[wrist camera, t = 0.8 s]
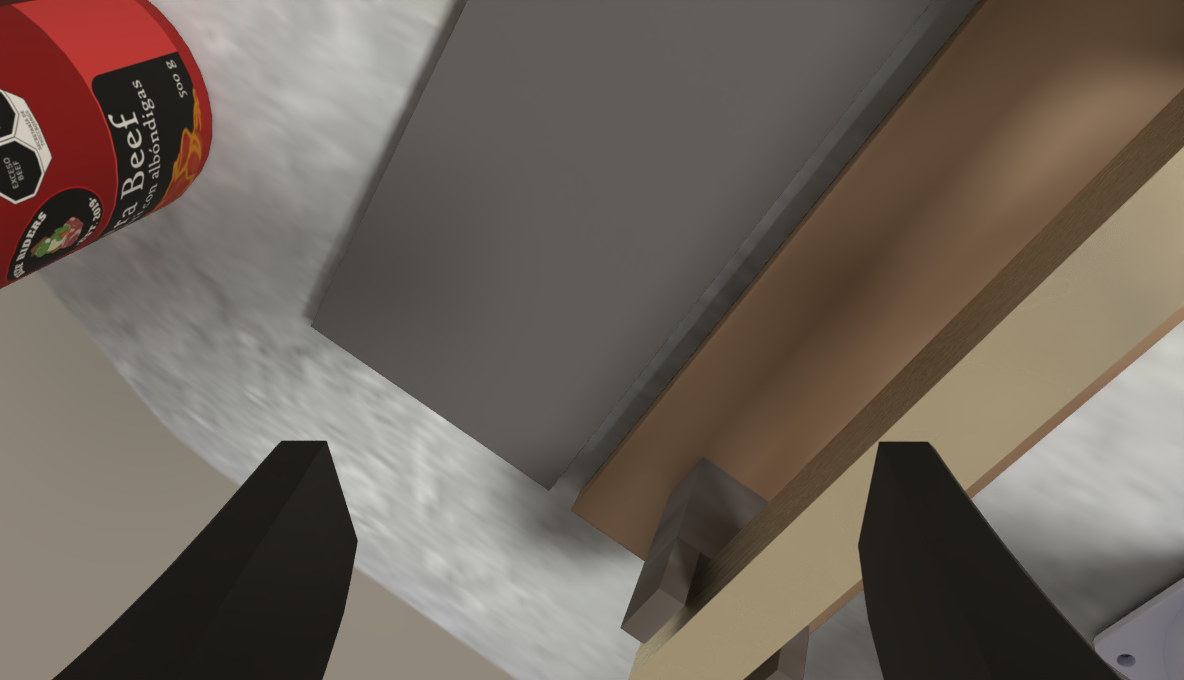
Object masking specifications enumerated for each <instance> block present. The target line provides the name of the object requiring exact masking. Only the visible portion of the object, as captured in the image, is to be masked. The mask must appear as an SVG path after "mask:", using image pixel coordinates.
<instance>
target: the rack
mask: <svg viewBox="0 0 1184 680" xmlns="http://www.w3.org/2000/svg"><path fill="white" fill-rule="evenodd" d="M1183 88H1184V0H980V1H979V2H978V3H977V5H976V6H975V7H974V8H973V10H972V11H971V12H970V13H969V14H968V16H967V17H966V18H965V19H964V21H963V22H962V23H961V24H960V26H959V27H958V28H957V29H956V30H955V32H954V33H953V34H952V35H951V37H950V38H949V39H948V40H947V42H946V43H945V44H944V45H943V46H942V48H941V49H940V50H939V51H938V53H937V54H936V55H935V56H934V58H933V59H932V60H931V61H930V62H929V64H928V65H927V66H926V67H925V69H924V70H923V71H922V72H921V74H920V75H919V76H918V77H917V78H916V80H915V81H914V82H913V83H912V85H911V86H910V87H909V88H908V90H907V91H906V92H905V93H904V94H903V96H902V97H901V98H900V99H899V101H898V102H897V103H896V104H895V106H894V107H893V108H892V109H891V111H890V112H889V113H888V114H887V115H886V117H885V118H884V119H883V120H882V122H881V123H880V124H879V125H878V127H877V128H876V129H875V130H874V131H873V133H872V134H871V135H870V136H869V138H868V139H867V140H866V141H865V143H864V144H863V145H862V146H861V147H860V149H859V150H858V151H857V152H856V154H855V155H854V156H853V157H852V159H851V160H850V161H849V162H848V163H847V165H846V166H845V167H844V168H843V170H842V171H841V172H840V173H839V175H838V176H837V177H836V178H835V179H834V181H833V182H832V183H831V184H830V186H829V187H828V188H827V189H826V191H825V192H824V193H823V194H822V195H821V197H820V198H819V199H818V200H817V202H816V203H815V204H814V205H813V207H812V208H811V209H810V210H809V211H808V213H807V214H806V215H805V216H804V218H803V219H802V220H801V221H800V223H799V224H798V225H797V226H796V227H795V229H794V230H793V231H792V232H791V234H790V235H789V236H788V237H787V239H786V240H785V241H784V242H783V244H782V245H781V246H780V247H779V248H778V250H777V251H776V252H775V253H774V255H773V256H772V257H771V258H770V260H769V261H768V262H767V263H766V264H765V266H764V267H763V268H762V269H761V271H760V272H759V273H758V274H757V276H756V277H755V278H754V279H753V280H752V282H751V283H750V284H749V285H748V287H747V288H746V289H745V290H744V292H743V293H742V294H741V295H740V296H739V298H738V299H737V300H736V301H735V303H734V304H733V305H732V306H731V308H730V309H729V310H728V311H727V312H726V314H725V315H724V316H723V317H722V319H721V320H720V321H719V322H718V324H717V325H716V326H715V327H714V328H713V330H712V331H711V332H710V333H709V335H708V336H707V337H706V338H705V340H704V341H703V342H702V343H701V344H700V346H699V347H698V348H697V349H696V351H695V352H694V353H693V354H692V356H691V357H690V358H689V359H688V360H687V362H686V363H685V364H684V365H683V367H682V368H681V369H680V370H679V372H678V373H677V374H676V375H675V376H674V378H673V379H672V380H671V381H670V383H669V384H668V385H667V386H666V388H665V389H664V390H663V391H662V393H661V394H660V395H659V396H658V397H657V399H656V400H655V401H654V402H653V404H652V405H651V406H650V407H649V409H648V410H647V411H646V412H645V413H644V415H643V416H642V417H641V418H640V420H639V421H638V422H637V423H636V425H635V426H634V427H633V428H632V429H631V431H630V432H629V433H628V434H627V436H626V437H625V438H624V439H623V441H622V442H621V443H620V444H619V445H618V447H617V448H616V449H615V450H614V452H613V453H612V454H611V455H610V457H609V458H608V459H607V460H606V461H605V463H604V464H603V465H602V466H601V468H600V469H599V470H598V471H597V473H596V474H595V475H594V476H593V477H592V479H591V480H590V481H589V482H588V484H587V485H586V486H585V487H584V489H583V490H582V491H581V492H580V494H579V496H578V498H577V499H576V501H575V503H574V505H573V507H572V509H571V511H573V512H574V513H576V514H577V515H578V516H580V517H581V518H583V519H584V520H586V521H587V522H589V523H590V524H592V525H593V526H594V527H596V528H597V529H599V530H600V531H602V532H603V533H605V534H606V535H607V536H609V537H610V538H612V539H613V540H615V541H616V542H618V543H619V544H621V545H622V546H623V547H625V548H626V549H628V550H629V551H631V552H632V553H634V554H635V555H636V556H638V557H639V558H641V559H642V560H644V561H645V563H644V566H643V568H642V571H641V574H640V576H639V579H638V582H637V584H636V587H635V590H634V593H633V595H632V598H631V601H630V603H629V606H628V609H627V612H626V614H625V617H624V620H623V622H622V625H621V629H623V630H624V631H626V632H627V633H628V634H630V635H631V636H633V637H634V638H636V639H637V640H639V641H640V642H642V643H643V644H645V643H646V642H647V641H648V640H649V639H650V638H651V637H653V636H654V635H655V634H656V633H657V632H658V631H659V630H660V629H661V628H662V627H663V626H664V625H665V624H666V623H667V622H668V621H669V620H670V619H671V618H672V617H673V616H674V615H675V614H676V613H677V612H678V611H679V610H680V609H681V608H682V607H683V606H684V605H685V601H686V598H687V594H688V591H689V588H690V584H691V581H692V579H693V578H694V577H695V576H696V575H697V574H698V573H699V572H700V571H701V570H702V569H703V568H704V567H705V566H706V565H707V564H708V563H709V562H710V561H711V560H712V559H713V558H714V557H715V556H716V555H717V554H718V553H719V552H720V551H721V550H722V549H723V548H724V547H725V546H726V545H727V544H728V543H729V542H730V541H731V540H732V539H733V538H734V537H735V536H736V535H737V534H738V533H739V532H740V531H741V530H742V529H743V528H744V527H745V526H746V525H747V524H748V523H749V522H750V521H751V520H752V519H753V518H754V517H755V516H756V515H757V514H758V513H759V512H760V511H761V510H762V509H763V508H764V507H765V506H766V505H767V504H768V503H769V502H770V501H771V500H772V499H773V498H774V497H775V496H776V495H777V494H778V493H779V492H780V491H781V490H782V489H783V488H784V487H785V486H786V485H787V484H788V483H789V482H790V481H791V480H792V479H793V478H794V477H795V476H796V475H797V474H798V473H799V472H800V471H801V470H802V469H803V468H804V467H805V466H806V465H807V464H808V463H809V462H810V461H811V460H812V459H813V458H814V457H815V456H816V455H817V454H818V453H819V452H820V451H821V450H822V449H823V448H824V447H825V446H826V445H827V444H828V443H829V442H830V441H831V440H832V439H833V438H834V437H835V436H836V435H837V434H838V433H839V432H840V431H841V430H842V429H843V428H844V427H845V426H846V425H847V424H848V423H849V422H850V421H851V420H852V419H853V418H854V417H855V416H856V415H857V414H858V413H859V412H860V411H861V410H862V409H863V408H864V407H865V406H866V405H867V404H868V403H869V402H870V401H871V400H872V399H873V398H874V397H875V396H876V395H877V394H878V393H879V392H880V391H881V390H882V389H883V388H884V387H885V386H886V385H887V384H888V383H889V382H890V381H891V380H892V379H893V378H894V377H895V376H896V375H897V374H898V373H899V372H900V371H901V370H902V369H903V368H904V367H905V366H906V365H907V364H908V363H909V362H910V361H911V360H912V359H913V358H914V357H915V356H916V355H917V354H918V353H919V352H920V351H921V350H922V349H923V348H924V347H925V346H926V345H927V344H928V343H929V342H930V341H931V340H932V339H933V338H934V337H935V336H936V335H937V334H938V333H939V332H940V331H941V330H942V329H943V328H944V327H945V326H946V325H947V324H948V323H949V322H950V321H951V320H952V319H953V318H954V317H955V316H956V315H957V314H958V313H959V312H960V311H961V310H962V309H963V308H964V307H965V306H966V305H967V304H968V303H969V302H970V301H971V300H972V299H973V298H974V297H975V296H976V295H977V294H978V293H979V292H980V291H981V290H982V289H983V288H984V287H985V286H986V285H987V284H988V283H989V282H990V281H991V280H992V279H993V278H994V277H995V276H996V275H997V274H998V273H999V272H1000V271H1001V270H1002V269H1003V268H1004V267H1005V266H1006V265H1007V264H1008V263H1009V262H1010V261H1011V260H1012V259H1013V258H1014V257H1015V256H1016V255H1017V254H1018V253H1019V252H1020V251H1021V250H1022V249H1023V248H1024V247H1025V246H1026V245H1027V244H1028V243H1029V242H1030V241H1031V240H1032V239H1033V238H1034V237H1035V236H1036V235H1037V234H1038V233H1039V232H1040V231H1041V230H1042V229H1043V228H1044V227H1045V226H1046V225H1047V224H1048V223H1049V222H1050V221H1051V220H1052V219H1053V218H1054V217H1055V216H1056V215H1057V214H1058V213H1059V212H1060V211H1061V210H1062V209H1063V208H1064V207H1065V206H1066V205H1067V204H1068V203H1069V202H1070V201H1071V200H1072V199H1073V198H1074V197H1075V196H1076V195H1077V194H1078V193H1079V192H1080V191H1081V190H1082V189H1083V188H1084V187H1085V186H1086V185H1087V184H1088V183H1089V182H1090V181H1091V180H1092V179H1093V178H1094V177H1095V176H1096V175H1097V174H1098V173H1099V172H1100V171H1101V170H1102V169H1103V168H1104V167H1105V166H1106V165H1107V164H1108V163H1109V162H1110V161H1111V160H1112V159H1113V158H1114V157H1115V156H1116V155H1117V154H1118V153H1119V152H1120V151H1121V150H1122V149H1123V148H1124V147H1125V146H1126V145H1127V144H1128V143H1129V142H1130V141H1131V140H1132V139H1133V138H1134V137H1135V136H1136V135H1137V134H1138V133H1139V132H1140V131H1141V130H1142V129H1143V128H1144V127H1145V126H1146V125H1147V124H1148V123H1149V122H1150V121H1151V120H1152V119H1153V118H1154V117H1155V116H1156V115H1157V114H1158V113H1159V112H1160V111H1161V110H1162V109H1163V108H1164V107H1165V106H1166V105H1167V104H1168V103H1169V102H1170V101H1171V100H1172V99H1173V98H1174V97H1175V96H1176V95H1177V94H1178V93H1179V92H1180V91H1181V90H1182V89H1183ZM1183 320H1184V305H1183V306H1182V307H1180V308H1179V309H1178V310H1177V311H1176V312H1174V313H1173V314H1172V315H1171V316H1170V317H1169V318H1167V319H1166V320H1165V321H1164V322H1163V323H1162V324H1160V325H1159V326H1158V327H1157V328H1156V329H1154V330H1153V331H1152V332H1151V333H1150V334H1149V335H1147V336H1146V337H1145V338H1144V339H1143V340H1142V341H1140V342H1139V343H1138V344H1137V345H1136V346H1135V347H1133V348H1132V349H1131V350H1130V351H1129V352H1127V353H1126V354H1125V355H1124V356H1123V357H1122V358H1120V359H1119V360H1118V361H1117V362H1116V363H1115V364H1113V365H1112V366H1111V367H1110V368H1109V369H1108V370H1106V371H1105V372H1104V373H1103V374H1102V375H1100V376H1099V377H1098V378H1097V379H1096V380H1095V381H1093V382H1092V383H1091V384H1090V385H1089V386H1088V387H1086V388H1085V389H1084V390H1083V391H1082V392H1080V393H1079V394H1078V395H1077V396H1076V397H1075V398H1073V399H1072V400H1071V401H1070V402H1069V403H1068V404H1066V405H1065V406H1064V407H1063V408H1062V409H1061V410H1059V411H1058V412H1057V413H1056V414H1055V415H1053V416H1052V417H1051V418H1050V419H1049V420H1048V421H1046V422H1045V423H1044V424H1043V425H1042V426H1041V427H1039V428H1038V429H1037V430H1036V431H1035V432H1034V433H1032V434H1031V435H1030V436H1029V437H1028V438H1026V439H1025V440H1024V441H1023V442H1022V443H1021V444H1019V445H1018V446H1017V447H1016V448H1015V449H1014V450H1012V451H1011V452H1010V453H1009V454H1008V455H1006V456H1005V457H1004V458H1003V459H1002V460H1001V461H999V462H998V463H997V464H996V465H995V466H994V467H992V468H991V469H990V470H989V471H988V472H987V473H985V474H984V475H983V476H982V477H981V478H979V479H978V480H977V481H976V482H975V483H974V484H972V485H971V486H970V487H969V488H968V489H967V490H965V492H966V493H967V495H968V496H969V498H970V499H971V498H972V497H974V496H975V495H976V494H977V493H978V492H979V491H981V490H982V489H983V488H984V487H985V486H987V485H988V484H989V483H990V482H991V481H993V480H994V479H995V478H996V477H997V476H998V475H1000V474H1001V473H1002V472H1003V471H1004V470H1006V469H1007V468H1008V467H1009V466H1010V465H1012V464H1013V463H1014V462H1015V461H1016V460H1018V459H1019V458H1020V457H1021V456H1022V455H1023V454H1025V453H1026V452H1027V451H1028V450H1029V449H1031V448H1032V447H1033V446H1034V445H1035V444H1037V443H1038V442H1039V441H1040V440H1041V439H1042V438H1044V437H1045V436H1046V435H1047V434H1048V433H1050V432H1051V431H1052V430H1053V429H1054V428H1056V427H1057V426H1058V425H1059V424H1060V423H1062V422H1063V421H1064V420H1065V419H1066V418H1067V417H1069V416H1070V415H1071V414H1072V413H1073V412H1075V411H1076V410H1077V409H1078V408H1079V407H1081V406H1082V405H1083V404H1084V403H1085V402H1086V401H1088V400H1089V399H1090V398H1091V397H1092V396H1094V395H1095V394H1096V393H1097V392H1098V391H1100V390H1101V389H1102V388H1103V387H1104V386H1106V385H1107V384H1108V383H1109V382H1110V381H1111V380H1113V379H1114V378H1115V377H1116V376H1117V375H1119V374H1120V373H1121V372H1122V371H1123V370H1125V369H1126V368H1127V367H1128V366H1129V365H1130V364H1132V363H1133V362H1134V361H1135V360H1136V359H1138V358H1139V357H1140V356H1141V355H1142V354H1144V353H1145V352H1146V351H1147V350H1148V349H1150V348H1151V347H1152V346H1153V345H1154V344H1155V343H1157V342H1158V341H1159V340H1160V339H1161V338H1163V337H1164V336H1165V335H1166V334H1167V333H1169V332H1170V331H1171V330H1172V329H1173V328H1174V327H1176V326H1177V325H1178V324H1179V323H1180V322H1182V321H1183ZM863 589H864V587H863V580H862V579H861V580H860V581H858V582H857V583H856V584H855V585H854V586H853V587H851V588H850V589H849V590H848V591H847V592H846V593H844V594H843V595H842V596H841V597H840V598H839V599H837V600H836V601H835V602H834V603H833V604H831V605H830V606H829V607H828V608H827V609H826V610H824V611H823V612H822V613H821V614H820V615H819V616H817V617H816V618H815V619H814V620H813V621H811V622H810V623H809V624H808V625H807V626H806V627H804V628H803V629H802V630H801V631H800V632H799V633H797V634H796V635H795V636H794V637H793V638H792V639H790V640H789V641H788V642H787V643H786V644H784V645H783V646H782V647H781V648H780V649H779V650H777V651H776V652H775V653H774V654H773V655H772V656H770V657H769V658H768V659H767V660H766V661H765V662H763V663H762V664H761V665H760V666H759V667H757V668H756V669H755V670H754V671H753V672H752V673H750V674H749V675H748V676H747V677H746V678H745V679H743V680H803V677H804V669H805V661H806V654H807V646H808V638H809V634H811V633H812V632H813V631H814V630H815V629H817V628H818V627H819V626H820V625H821V624H823V623H824V622H825V621H826V620H827V619H828V618H830V617H831V616H832V615H833V614H834V613H836V612H837V611H838V610H839V609H840V608H842V607H843V606H844V605H845V604H846V603H847V602H849V601H850V600H851V599H852V598H853V597H855V596H856V595H857V594H858V593H859V592H861V591H862V590H863Z"/></svg>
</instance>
